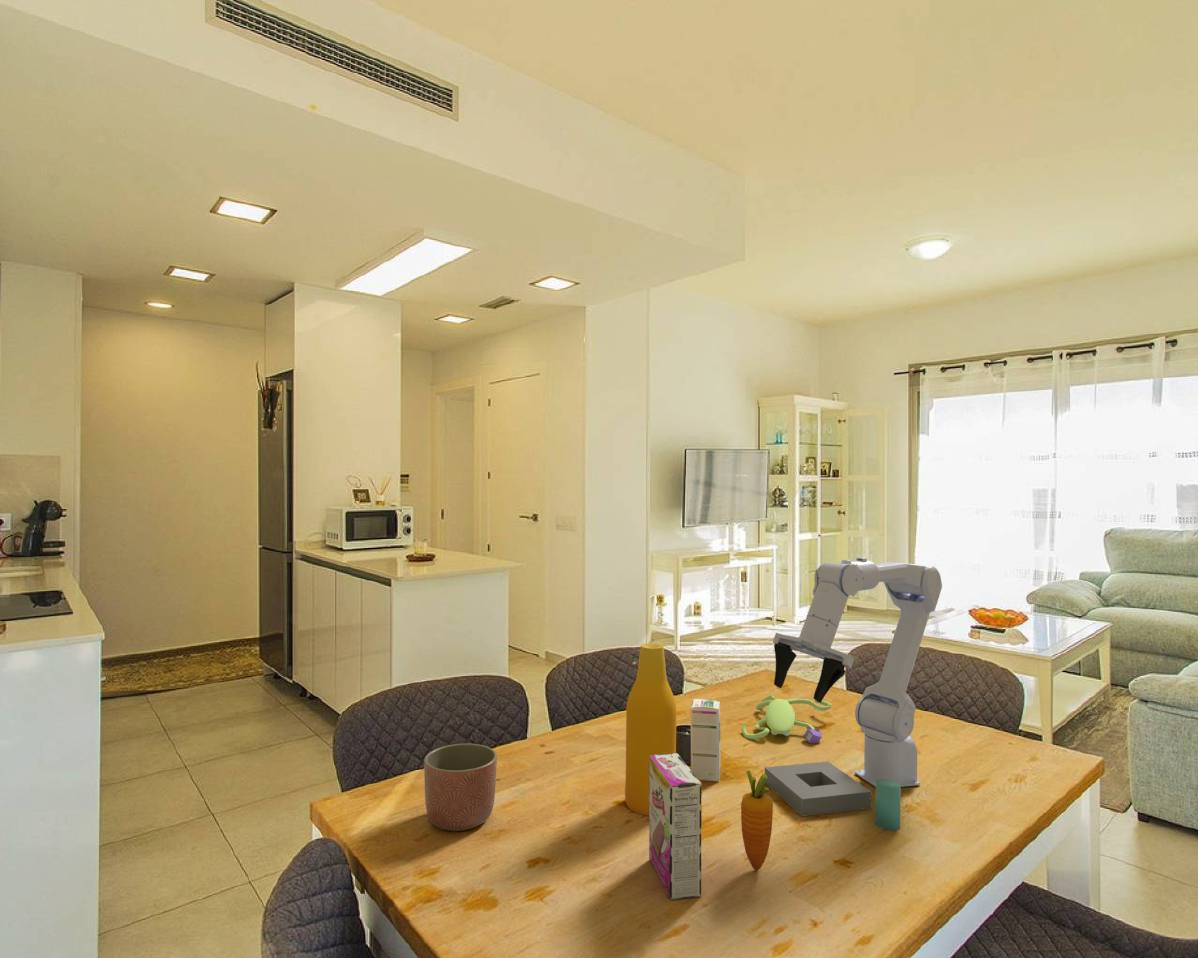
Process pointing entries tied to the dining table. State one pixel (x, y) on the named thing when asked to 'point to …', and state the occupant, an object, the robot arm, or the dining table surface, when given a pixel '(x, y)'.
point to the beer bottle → (648, 724)
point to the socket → (817, 788)
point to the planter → (460, 785)
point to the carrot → (756, 821)
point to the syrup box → (705, 739)
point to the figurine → (785, 718)
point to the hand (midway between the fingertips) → (796, 693)
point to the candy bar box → (675, 825)
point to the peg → (888, 804)
